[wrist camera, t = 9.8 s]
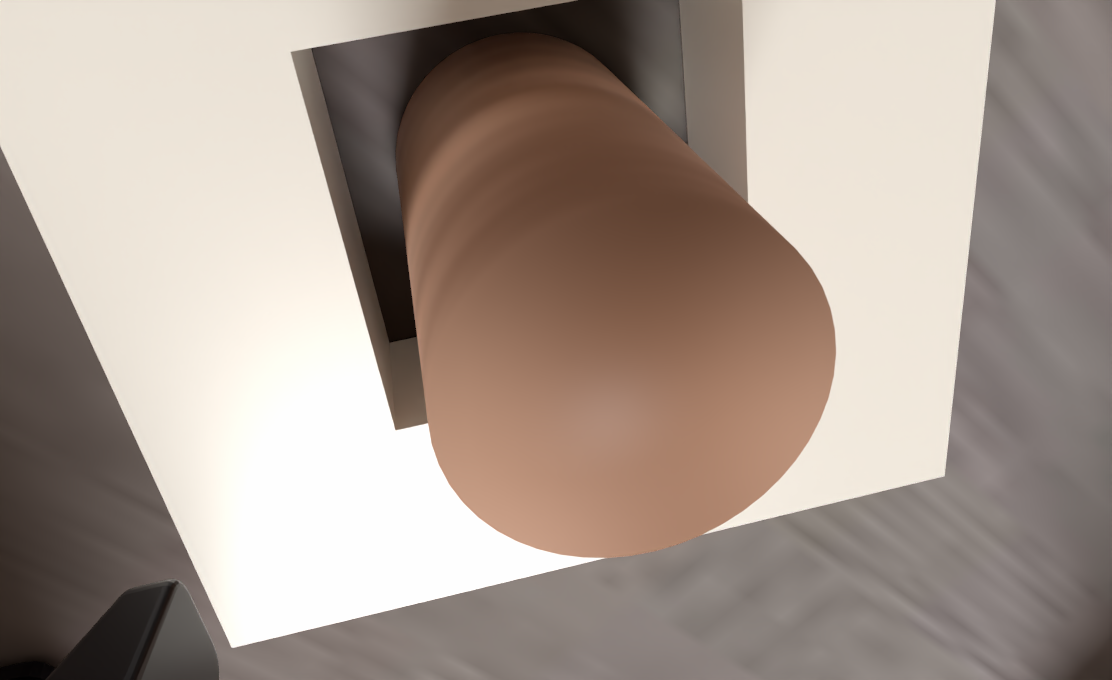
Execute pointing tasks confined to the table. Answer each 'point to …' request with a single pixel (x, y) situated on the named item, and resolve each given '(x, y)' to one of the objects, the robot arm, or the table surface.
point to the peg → (596, 308)
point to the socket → (394, 368)
